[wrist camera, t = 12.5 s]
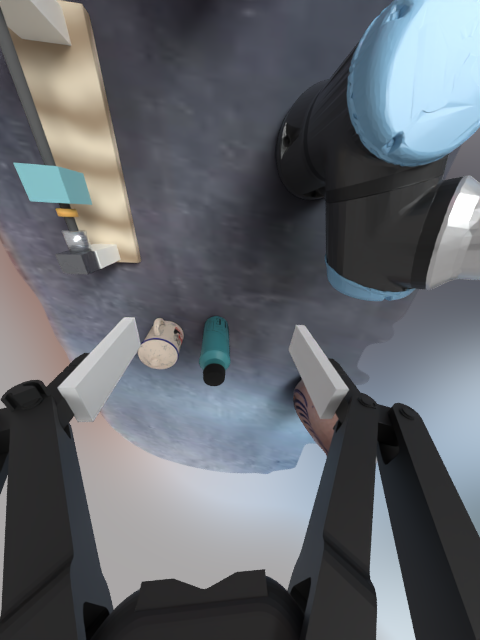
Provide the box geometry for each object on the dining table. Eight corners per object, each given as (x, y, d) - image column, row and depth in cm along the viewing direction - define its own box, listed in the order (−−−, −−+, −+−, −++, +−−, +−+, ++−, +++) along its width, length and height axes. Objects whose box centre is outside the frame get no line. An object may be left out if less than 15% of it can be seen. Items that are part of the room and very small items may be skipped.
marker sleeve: (46, 170, 27) (13, 162, 23) (83, 173, 28) (57, 166, 23) (58, 202, 29) (30, 201, 25) (92, 204, 30) (70, 203, 25)
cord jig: (-4, 0, 23) (-196, -179, 13) (89, 14, 24) (-16, -140, 14) (87, 259, 40) (37, 277, 29) (141, 261, 41) (111, 278, 30)
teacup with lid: (186, 346, 53) (177, 377, 43) (153, 346, 53) (137, 378, 43) (181, 309, 47) (171, 335, 37) (145, 309, 46) (123, 336, 36)
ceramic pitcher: (283, 399, 69) (310, 482, 48) (295, 356, 59) (337, 439, 37) (327, 397, 71) (372, 478, 50) (346, 356, 61) (414, 435, 39)
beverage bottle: (202, 330, 51) (192, 390, 34) (206, 309, 48) (198, 364, 31) (225, 334, 52) (227, 394, 35) (231, 314, 49) (235, 369, 32)
